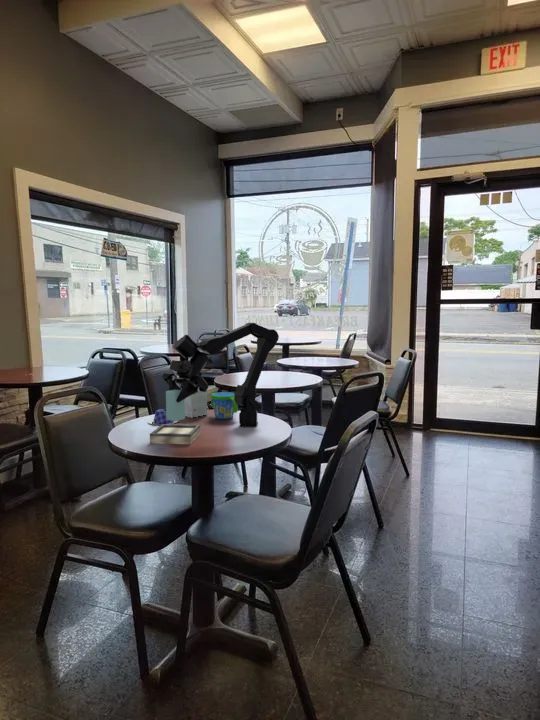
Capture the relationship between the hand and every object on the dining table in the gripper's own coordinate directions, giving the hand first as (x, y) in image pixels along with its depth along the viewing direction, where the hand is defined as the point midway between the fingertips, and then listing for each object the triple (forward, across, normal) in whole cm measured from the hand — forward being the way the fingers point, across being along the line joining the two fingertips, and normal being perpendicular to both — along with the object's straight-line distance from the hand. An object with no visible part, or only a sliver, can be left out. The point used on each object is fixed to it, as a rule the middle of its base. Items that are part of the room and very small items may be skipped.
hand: (172, 401), depth 163 cm
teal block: (+4, 0, +6) cm, 7 cm away
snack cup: (-16, -9, +35) cm, 40 cm away
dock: (+9, 0, +10) cm, 14 cm away
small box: (-13, -21, +32) cm, 41 cm away
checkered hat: (-1, -23, +21) cm, 31 cm away
